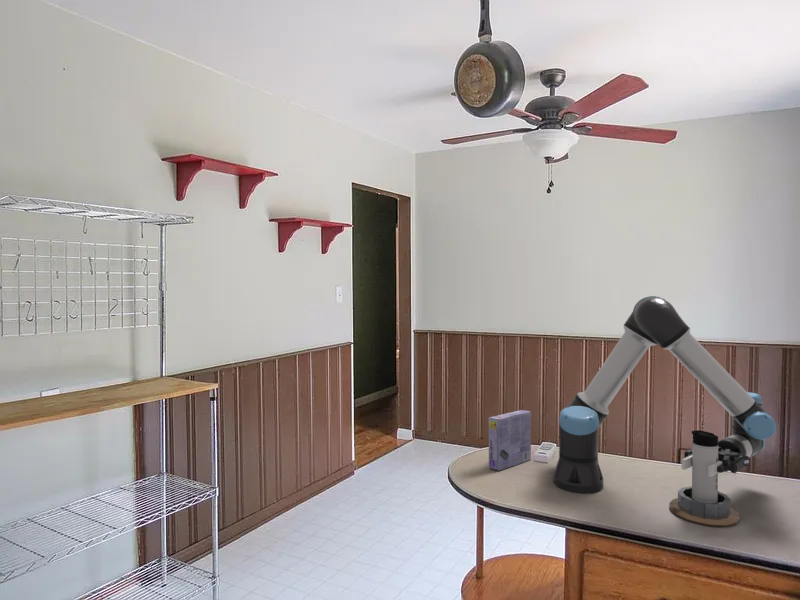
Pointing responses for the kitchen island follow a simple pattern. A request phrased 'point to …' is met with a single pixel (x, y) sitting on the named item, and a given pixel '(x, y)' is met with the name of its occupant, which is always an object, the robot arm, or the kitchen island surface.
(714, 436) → the travel mug
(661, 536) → the kitchen island surface
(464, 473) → the kitchen island surface
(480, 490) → the kitchen island surface
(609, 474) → the kitchen island surface
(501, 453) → the cake pan box
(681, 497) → the ring collar
